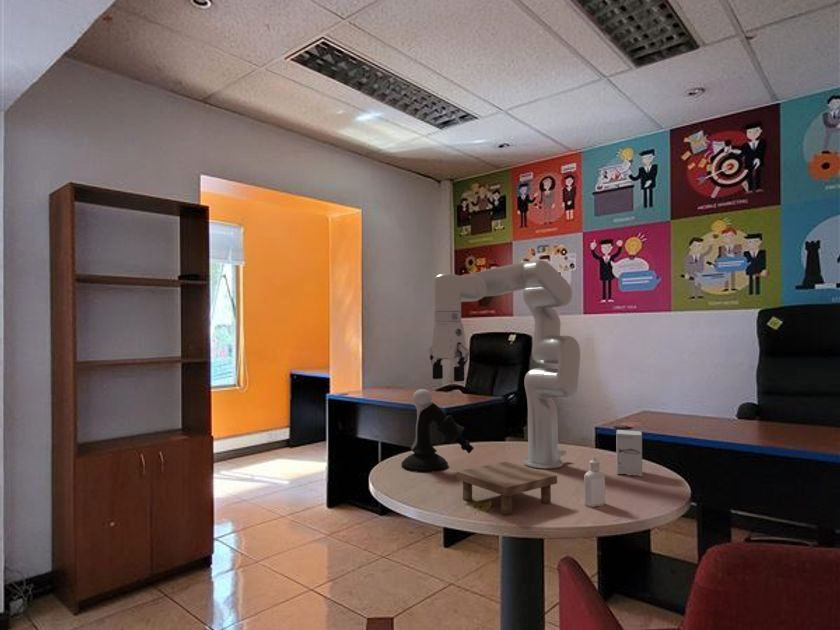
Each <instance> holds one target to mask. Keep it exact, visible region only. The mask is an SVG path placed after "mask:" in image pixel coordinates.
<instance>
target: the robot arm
mask: <svg viewBox="0 0 840 630" xmlns="http://www.w3.org/2000/svg"><path fill="white" fill-rule="evenodd" d="M433 287H434V288H433V294H434V295H433V309H434V311H433V312H434V313H433V314H434V315H433V316H434V317H433V318H434V319H433V320H434V321H433V323H434V324H433V325H434V326H433V331H432V340H431V341H432V345H431V346H430V348H428V349H427V350H428V351H427V352H428V354H429V359H430V361H431V362H430V364H431V365H432V380H443V378H444V376H443V375H444V373H443V372H444V368H443V367H444V366H443V364H442V363H443V361H444V360H452V362H453V365H455V366H453V382H464V381H465V367H466V365H467V362H468V360H469V355H470V350H469V349H468V348H467V345H466V333H465V327H464V324H463V323H462V303H469V302H477V301H480V300H482V299H483V298H485V297H495V296H502V295H506V294H509V293H513V292H517V291H521V290H522V299H523V301H524V304H525V305H526V306H527V307H528V309H529V310H530V313H531V314H532V316H533V319H534V327H533V328H534V329H533V338H532V340H533V341H532V351H531V353H532V354H531V355H532V359H533V360H534V361H535V362H536V363H538V364H542V365H554V366H555V365H556V366H557V368H551V367H536V368H532V369H530V370H529V371H527V373H526V374H525V376H524V384H523V385H524V389H525V390H524V391H525V394H526V399H527V400H526V401H527V402H526V403H527V438H528V439H527V441H528V443H527V446H528V451H527V452H528V455H527V457H526V458H523V464H524V465H525V466H526V467H527V466H528V467H529V468H533V469H534V468H536V469H548V470H549V469H552V470H553V469H558V468H559V469H560V468H561V467H563V465H564V461H563V460H562V459H561V457H564V456H566V455H567V450H566V449H561V450H560V449H559V444H558V443H559V437H558V435H559V433H558V422H559V421H558V407H557V406H556V403H555V401H554V399H560V400H569V399H572V398H573V397H574V396H575V394H576V392H577V391H578V386H579V376H580V375H579V374H580V363H581V348H580V343H579V341H578V340H577V339H576V338H574V337H573V336H570V335H561V326H562V325H561V319H560V316H559V315H558V313H557V312H556V310H555V309H554V308H561V307H565V306H568V305H569V304H570V303H571V301H572V299H573V290H572V287H571V285H570V284H569V282H568V281H567V280H566V279H565V277H563V276H562V274H561V273H560V272H559V271H558V270H557V269H556V268H555V267H554V266H552V265H551V263H549V262H547V261H545V260H542V259H539V260H532V261H524V262H518V263H512V264H508V265H503V266H499V267H497V266H496V267H494V268H488V269H485V270H481V271H478V272H473V273H469V274H462V275H458V274H454V273H443V274H442V273H441V274H438V275H436V276H435V277H434V280H433Z"/></svg>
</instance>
